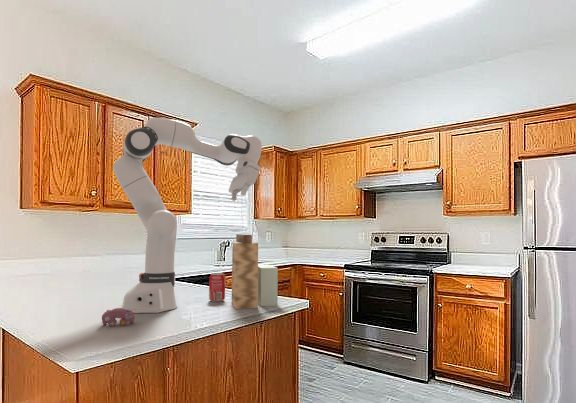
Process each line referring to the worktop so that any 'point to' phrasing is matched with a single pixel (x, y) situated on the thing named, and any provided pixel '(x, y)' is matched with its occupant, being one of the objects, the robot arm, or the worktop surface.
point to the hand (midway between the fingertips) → (238, 197)
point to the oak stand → (245, 275)
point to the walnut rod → (243, 238)
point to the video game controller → (118, 313)
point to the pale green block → (267, 285)
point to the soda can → (217, 287)
